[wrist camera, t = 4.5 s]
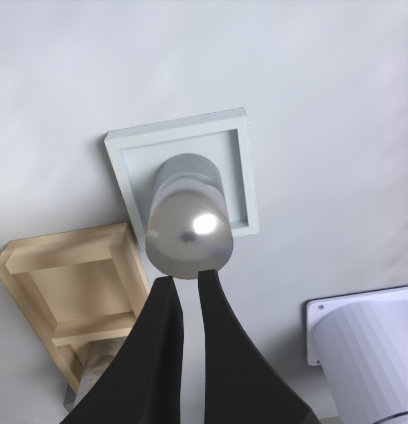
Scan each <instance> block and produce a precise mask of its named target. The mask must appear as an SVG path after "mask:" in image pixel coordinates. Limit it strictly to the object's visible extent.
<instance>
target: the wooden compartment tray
mask: <svg viewBox="0 0 408 424" xmlns="http://www.w3.org/2000/svg"><path fill="white" fill-rule="evenodd" d="M0 279H1V281H2V282H3V284H4V285H5V287H6V288H7V290H8V291H9V293H10V294H11V296H12V297H13V299H14V301H15V302H16V304H17V305H18V307H19V308H20V310H21V311H22V313H23V314H24V316H25V318H26V319H27V321H28V322H29V324H30V325H31V327H32V328H33V330H34V331H35V333H36V334H37V336H38V338H39V339H40V341H41V342H42V344H43V345H44V347H45V348H46V350H47V351H48V353H49V354H50V356H51V358H52V359H53V361H54V362H55V364H56V365H57V367H58V368H59V370H60V371H61V373H62V374H63V376H64V378H65V379H66V381H67V382H68V384H69V385H70V387H71V388H72V390H73V391H74V393H75V394H76V396H77V392H78V388H79V385H80V381H81V377H82V373H83V370H84V366H85V362H86V358H87V354H88V351H89V347H90V344H91V342H92V341H95V340H102V339H108V338H115V337H122V336H128V334H129V333H130V331H131V329H132V327H133V326H134V324H135V322H136V320H137V318H138V316H139V314H140V312H141V310H142V308H143V306H144V304H145V302H146V300H147V297H148V295H149V293H150V291H151V290H150V287H149V284H148V281H147V278H146V275H145V272H144V270H143V267H142V264H141V261H140V258H139V255H138V252H137V249H136V246H135V243H134V241H133V238H132V235H131V232H130V229H129V226H128V223H127V222H125V223H118V224H112V225H106V226H100V227H94V228H88V229H82V230H76V231H70V232H64V233H57V234H51V235H45V236H39V237H33V238H27V239H21V240H15V241H9V243H8V244H7V246H6V247H5V249H4V250H3V252H2V253H1V255H0Z"/></svg>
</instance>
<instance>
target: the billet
mask: <svg viewBox="0 0 408 424" xmlns="http://www.w3.org/2000/svg"><path fill="white" fill-rule="evenodd" d="M145 249H146V254H147V256H148V258H149V260H150V262H151V263H152V264H153V265H154V266H155V267H156V268H157V269H158V270H159V271H161V272H162V273H164V274H166V275H168V276H173V277H174V278H178V279H186V280H187V279H198V271H204V270H211V269H215V270H217V271H218V270H220V269H221V268H222V267H223V266H224V265H225V264H226V263H227V262H228V260H229V259H230V257H231V254H232V251H233V237H232V231H231V226H230V221H229V215H228V210H227V205H226V199H225V194H224V188H223V183H222V178H221V174H220V172H219V170H218V168H217V167H216V165H215V164H214V163H213V162H212V161H210V160H209V159H208V158H206V157H204V156H201V155H198V154H193V153H184V154H179V155H175V156H173V157H171V158H169V159H168V160H166V161H165V162H164V163H163V164H162V165H161V166H160V168H159V169H158V171H157V174H156V177H155V183H154V189H153V195H152V202H151V208H150V215H149V221H148V228H147V234H146V241H145Z"/></svg>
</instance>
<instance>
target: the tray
mask: <svg viewBox="0 0 408 424" xmlns="http://www.w3.org/2000/svg"><path fill="white" fill-rule="evenodd" d="M104 142H105V145H106V148H107V151H108V154H109V157H110V160H111V163H112V166H113V169H114V172H115V175H116V178H117V181H118V184H119V187H120V190H121V193H122V196H123V199H124V202H125V205H126V208H127V211H128V214H129V217H130V219H131V222H132V225H133V228H134V231H135V234H136V237H137V240H138V243H139V246H140V249H141V252H142V251H146V249H145V241H146V234H147V228H148V221H149V215H150V208H151V202H152V195H153V189H154V183H155V177H156V174H157V171H158V169H159V168H160V166H161V165H162V164H163V163H164V162H165V161H166V160H168V159H169V158H171V157H173V156H175V155H179V154H184V153H193V154H198V155H201V156H204V157H206V158H208V159H209V160H210V161H212V162H213V163H214V164H215V165H216V167H217V168H218V170H219V172H220V174H221V178H222V183H223V188H224V194H225V199H226V205H227V210H228V215H229V221H230V226H231V231H232V237H237V236H243V235H249V234H256V233H259V224H258V214H257V205H256V195H255V185H254V175H253V165H252V155H251V145H250V135H249V125H248V115H247V113H246V111H245V109H244V107H243V108H238V109H232V110H226V111H221V112H215V113H210V114H204V115H198V116H193V117H187V118H181V119H176V120H170V121H165V122H159V123H153V124H148V125H142V126H137V127H131V128H125V129H120V130H114V131H109V132H108V134H107V136H106V138H105V140H104Z"/></svg>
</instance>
